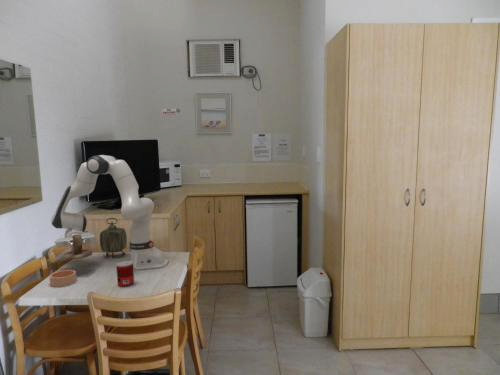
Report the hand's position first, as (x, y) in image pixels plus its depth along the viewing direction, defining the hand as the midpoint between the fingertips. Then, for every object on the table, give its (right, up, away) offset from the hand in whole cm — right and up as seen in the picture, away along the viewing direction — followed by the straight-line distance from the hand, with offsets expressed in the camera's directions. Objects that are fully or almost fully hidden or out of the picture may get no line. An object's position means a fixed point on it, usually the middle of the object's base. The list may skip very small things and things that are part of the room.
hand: (77, 243), depth 198 cm
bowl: (-2, -18, -12) cm, 22 cm away
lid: (0, -7, +2) cm, 7 cm away
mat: (0, -17, +3) cm, 17 cm away
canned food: (+32, -18, -15) cm, 39 cm away
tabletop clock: (+8, -13, +32) cm, 36 cm away
